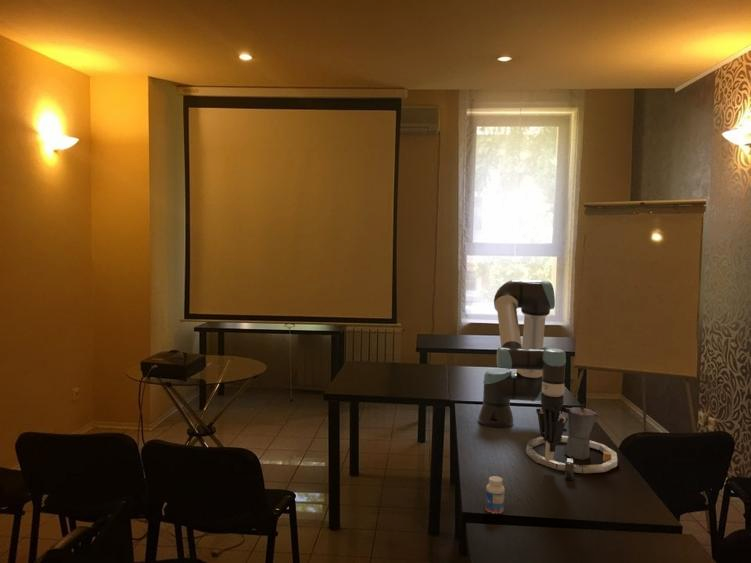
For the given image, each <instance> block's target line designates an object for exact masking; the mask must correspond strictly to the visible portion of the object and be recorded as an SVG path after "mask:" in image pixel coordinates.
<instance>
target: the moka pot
mask: <svg viewBox="0 0 751 563" xmlns="http://www.w3.org/2000/svg"><path fill="white" fill-rule="evenodd" d="M585 406H586V405H585V404H584V403H580V407H577V406H576V407H575V406H574V407H573V406H572V407H565V406H562V408H561V409H562V413H565V414H568V416H567V419H568V429H569V430H568V429H567V428H564V430H563V433H564V432H565V433H566V432H567V431H568V435H567V436H568V440H567V443H566V444H565V448H564V455H566V456H568V457H569V458H571V459H576V460H583V461H584V460H588V459H589V458H590V447H589V442H590V440H591V439H590V433H591V432H592V430H593V426H594V424H595V423H596V422H597V420H598V418H599V417H601V415H600V414H599V413H598V412H595V411H592V410H591V409H588V408H585Z"/></svg>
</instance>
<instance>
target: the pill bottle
mask: <svg viewBox="0 0 751 563" xmlns="http://www.w3.org/2000/svg"><path fill="white" fill-rule="evenodd" d="M503 483H504V482H503V478H502V477H500V476H498V475H492V476H491V475H490V476H489V478H488V483H487V485H486V490H485V511H487V512H488V513H490V512H491V514H495V513H496V514H497V513H499V514H501V513H503V512H504V510H505V486H504V485H503Z"/></svg>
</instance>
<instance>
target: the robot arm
mask: <svg viewBox="0 0 751 563" xmlns="http://www.w3.org/2000/svg"><path fill="white" fill-rule="evenodd" d="M555 306H556V297H555V290H554V286H553V284H552V282H551V281H549V280H541V279H539V280H538V279H537V280H534V279H533V280H532V279H526V280H525V279H524V280H523V279H512V280H508V281H506V282H505V283H503V284H502V285H501V286H500V287H499V288H498V289H497V291H496V292H495V295H494V298H493V307H494V310H495V311H496V312H497V322H498V328H499V337H500V338H499V339H500V347H497V350H496V366H497V367H498V368H493V369H490V370H487V371H486V372H485V373H484V375H483V376H484V377H483V395H482V396H483V397H482V405H481V409H480V411H479V414H478V420H477V422H479V423H480V424H481V425H483V426H486V427H491V428H508V427H511V426H513V425H514V416H513V412H512V410H511V401H527V402H540V404H542V405H541V407H540V408H536V410H535V411H536V413H537V414H536V415H537V420H538V427H539V435H540V436H541V437H543V438H544V440H545V443H544V449H545V451H544V457H545V460H547V461H549V460H554V461H555V452H556V447H557V443H562V442H561V438H562V436H563V433H564V431H563V430H564V429H565V425H566V423H567V422H568V421H569V418H568V417H565V416H564V415H563V411H562V409H561V408H562V407H564V403H565V402H564V399H565V397H564V394H565V377H566V364H567V359H566V358H567V357H566V356H567V354H566V351H565V350H564V349H560V348H554V347H552V348H550V347H546V346H545V347H544V339H545V338H544V336H545V325H546V318H547V316H549V315H550V313H551V310H554V309H555ZM517 309H520V311H521V313H522V314H523V316H524V317H523V318H524V319H523V328H522V329H523V332H522V338H521V332H520V326H519V319H518V318H519V317H518V312H517ZM511 369H512V370H516V372H512V370H511ZM540 436H539V437H540Z"/></svg>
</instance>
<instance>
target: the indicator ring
mask: <svg viewBox="0 0 751 563" xmlns="http://www.w3.org/2000/svg"><path fill="white" fill-rule="evenodd" d="M568 436H569V435H562V438H561V442H560V443H564V444H565V443H566V444H567V440H568ZM589 440H590V442H589V448H591V449H595V450H598V451H600V452H601V453H603V455H602V456H603V457H602V461H603V463H601V464H583V465H580V464H575V463H574V458H572V457H569V458H568V457H567V458H566V462H559V461H557V460H555V459H554V460H549V461H547V460H545V456H542V455H540V453H538V452H537V451H536V450H535V449H534V447H538V446H539V445H542V444H545V440H544V438H543V437H541V436H538V437H535V438H532V439H529V440H527V445H526V447H525V454H526V455H527V456H528V457H529V458H531V459H532V460H533V461H534V462H535V463H538V464H540V465H542V466H546V467H549V468H552V469H555V470H556V471H557V470H558V471H564V479H566V480H569V481H571V480H574V475H575V474H574V473H577V474H578V473H579V474H593V473H594V474H596V473H606V472H608V471H611V470H612V469H615V468H616V467H618V453H617V452H616V451H615V450H614V449H612V448H610V447H608V446H607V445H605V444H603V443H600V442H596V441H593V440H591V439H589Z"/></svg>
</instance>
